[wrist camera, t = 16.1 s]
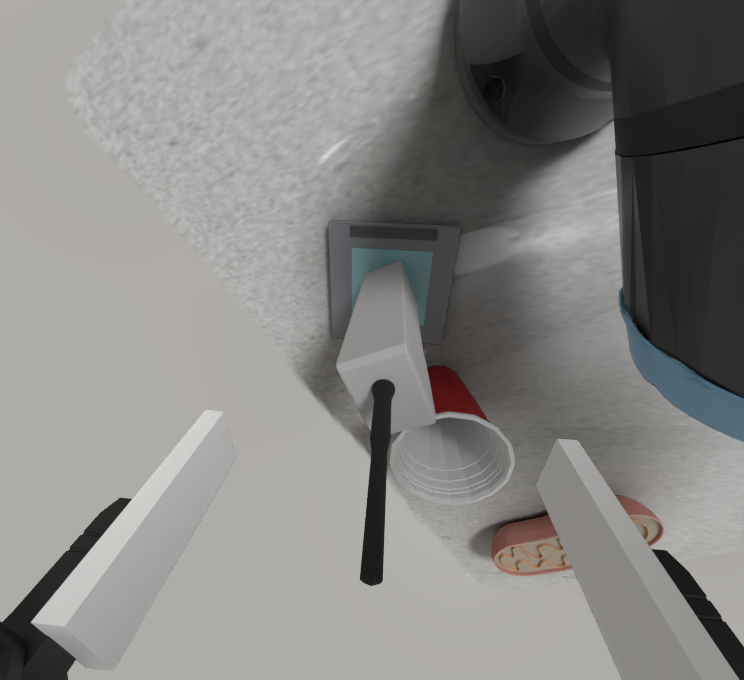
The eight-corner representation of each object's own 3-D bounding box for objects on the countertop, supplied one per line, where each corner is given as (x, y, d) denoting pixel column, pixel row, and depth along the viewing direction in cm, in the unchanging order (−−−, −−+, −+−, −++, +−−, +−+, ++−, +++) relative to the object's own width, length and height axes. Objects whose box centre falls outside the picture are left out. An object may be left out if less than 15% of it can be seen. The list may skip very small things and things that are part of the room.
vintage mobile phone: (383, 316, 31) (353, 639, 10) (365, 272, 29) (271, 556, 7) (418, 304, 31) (471, 630, 9) (401, 258, 28) (416, 534, 7)
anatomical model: (627, 472, 42) (654, 507, 37) (646, 510, 45) (673, 546, 41) (475, 520, 49) (483, 553, 45) (501, 549, 53) (511, 583, 48)
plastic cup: (461, 330, 33) (491, 402, 22) (494, 399, 37) (533, 487, 27) (375, 367, 36) (366, 446, 26) (414, 427, 40) (421, 516, 30)
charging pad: (330, 220, 28) (327, 221, 27) (458, 225, 28) (461, 228, 27) (334, 332, 34) (331, 337, 33) (440, 339, 34) (441, 344, 33)
